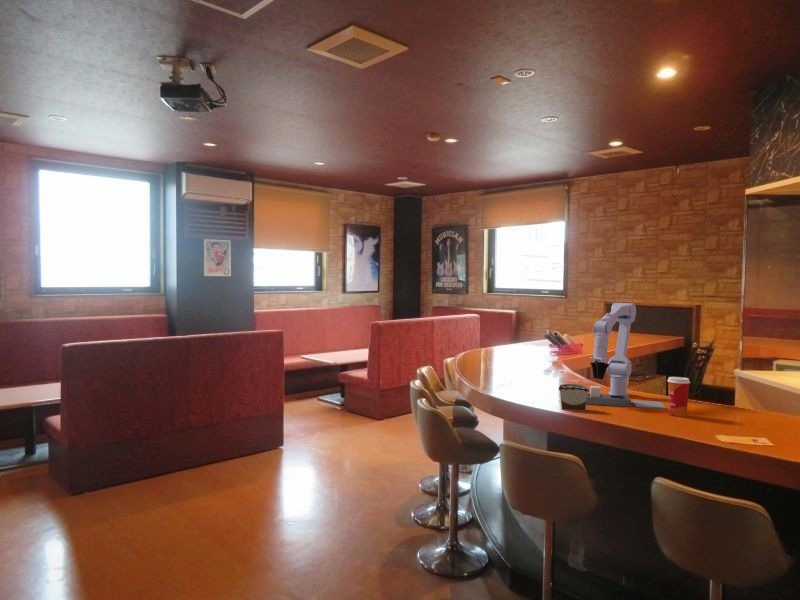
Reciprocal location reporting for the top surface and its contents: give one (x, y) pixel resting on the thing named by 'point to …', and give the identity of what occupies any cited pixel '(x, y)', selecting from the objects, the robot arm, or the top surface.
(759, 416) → the top surface
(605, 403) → the metal frame
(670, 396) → the coffee cup
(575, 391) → the food container
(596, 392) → the ivory plug
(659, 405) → the rubber pad
